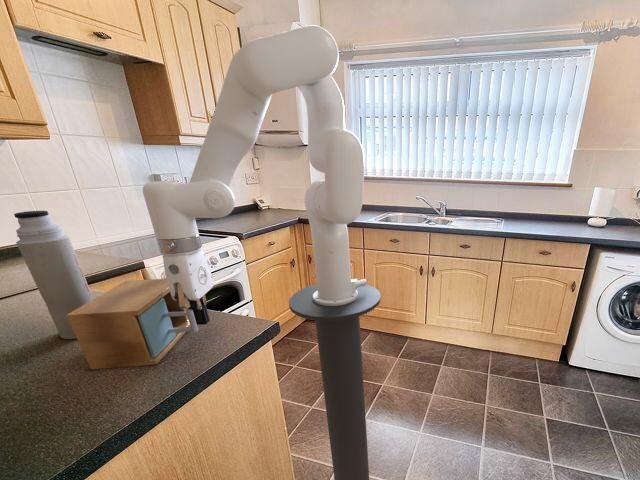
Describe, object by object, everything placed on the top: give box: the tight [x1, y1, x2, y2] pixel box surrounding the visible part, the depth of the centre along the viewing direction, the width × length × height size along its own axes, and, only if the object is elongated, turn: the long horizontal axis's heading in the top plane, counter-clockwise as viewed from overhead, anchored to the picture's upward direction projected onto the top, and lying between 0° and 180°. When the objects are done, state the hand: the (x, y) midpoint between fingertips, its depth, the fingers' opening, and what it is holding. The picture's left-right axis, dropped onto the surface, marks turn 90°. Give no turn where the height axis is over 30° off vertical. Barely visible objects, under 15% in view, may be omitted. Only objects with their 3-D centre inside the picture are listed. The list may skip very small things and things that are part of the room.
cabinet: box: [67, 278, 191, 370], centre depth 72 cm, size 12×18×12 cm, turn 8°
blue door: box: [138, 298, 199, 358], centre depth 70 cm, size 6×9×9 cm
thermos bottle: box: [13, 210, 95, 340], centre depth 75 cm, size 8×8×28 cm
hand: (201, 323), depth 77 cm, fingers closed
